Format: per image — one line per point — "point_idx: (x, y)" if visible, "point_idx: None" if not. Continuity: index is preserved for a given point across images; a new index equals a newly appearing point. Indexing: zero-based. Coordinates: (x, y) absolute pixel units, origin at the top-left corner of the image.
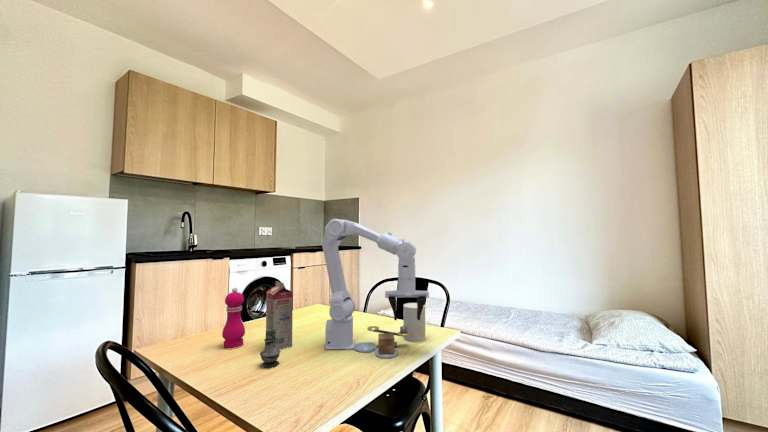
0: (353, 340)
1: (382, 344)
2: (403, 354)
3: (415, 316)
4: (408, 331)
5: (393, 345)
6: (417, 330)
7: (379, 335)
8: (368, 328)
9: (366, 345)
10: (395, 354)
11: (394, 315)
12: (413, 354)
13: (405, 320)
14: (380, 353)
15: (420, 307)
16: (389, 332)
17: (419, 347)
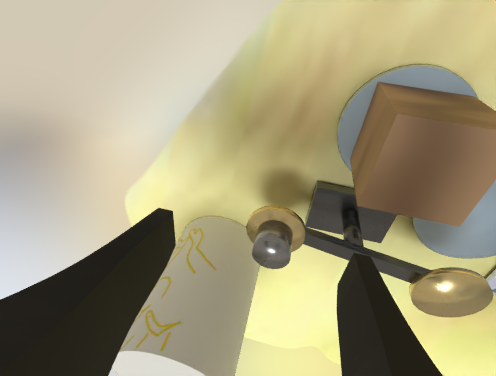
0: (490, 285)
1: (477, 113)
2: (314, 105)
3: (185, 308)
4: (241, 259)
5: (394, 97)
6: (201, 248)
7: (476, 194)
8: (487, 297)
9: (468, 223)
10: (370, 84)
11: (387, 291)
12: (264, 95)
13: (241, 310)
14: (465, 97)
15: (68, 287)
16: (351, 249)
17: (220, 165)
